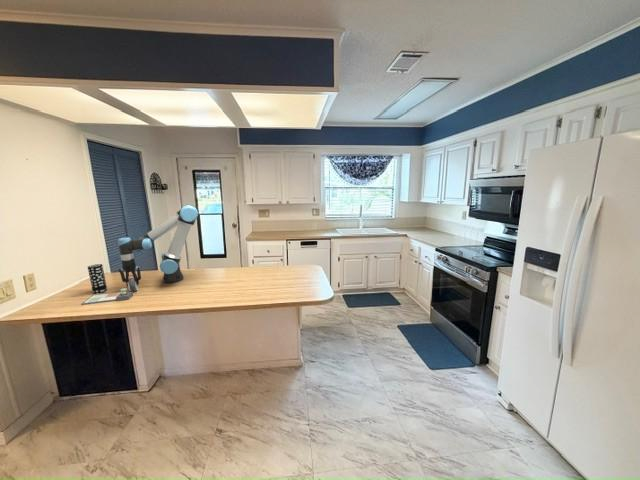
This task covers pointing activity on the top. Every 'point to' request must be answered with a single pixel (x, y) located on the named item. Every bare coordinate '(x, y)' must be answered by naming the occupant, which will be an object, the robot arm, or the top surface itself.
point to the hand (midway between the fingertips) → (133, 289)
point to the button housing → (124, 296)
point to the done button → (123, 291)
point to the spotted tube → (97, 278)
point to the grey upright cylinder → (132, 283)
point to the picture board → (101, 298)
